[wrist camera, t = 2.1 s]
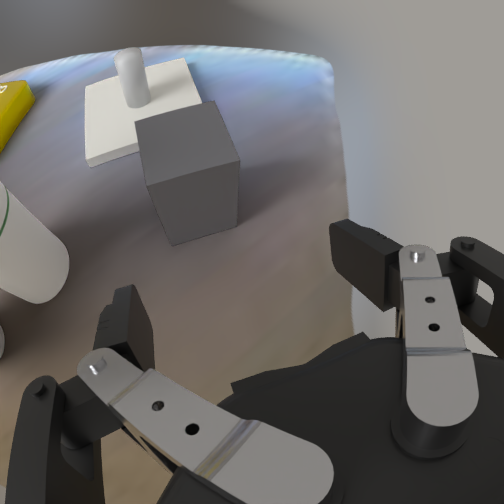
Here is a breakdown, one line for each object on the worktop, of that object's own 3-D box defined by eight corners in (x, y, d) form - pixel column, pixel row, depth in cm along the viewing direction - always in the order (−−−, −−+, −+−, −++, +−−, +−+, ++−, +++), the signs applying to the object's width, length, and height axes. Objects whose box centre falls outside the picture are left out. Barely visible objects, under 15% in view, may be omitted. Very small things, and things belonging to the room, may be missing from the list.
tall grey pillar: (171, 246, 28) (146, 186, 19) (157, 191, 30) (134, 121, 21) (236, 226, 29) (240, 159, 20) (217, 173, 31) (214, 100, 22)
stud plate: (90, 167, 31) (61, 116, 23) (88, 94, 35) (70, 47, 28) (210, 131, 33) (207, 72, 26) (184, 65, 38) (180, 15, 30)
